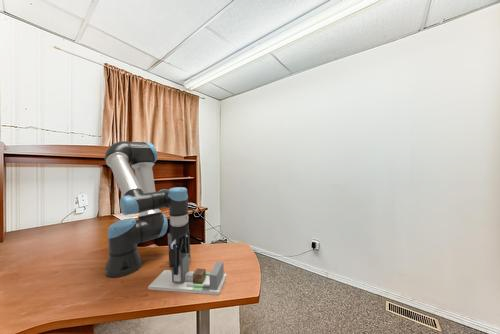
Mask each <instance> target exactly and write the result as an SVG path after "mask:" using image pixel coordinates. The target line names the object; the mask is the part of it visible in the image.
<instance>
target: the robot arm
mask: <svg viewBox="0 0 500 334" xmlns="http://www.w3.org/2000/svg"><path fill="white" fill-rule="evenodd" d="M157 160H158V152H157V148H156V147H155V145H154V144H153V143H152V142H145V141H126V140H125V141H122V140H121V141H117V142H115V143H113V144H111V145H110V146H109V147H108V148H107V149H106V151H105V154H104V161H105V163H106V165H107V166H108V167H109V168H110V169H111V172H112V174H113V176H114V178H115V180H116V183H117V186H118V187H119V191H120V192H121V194H122V196H121V197H120V199H119V208H120V212H121V214H123V215H125V216H126V215H127V216H128V215H135V214H138V216H137V218H138V219H137V220H136V218H133V217H129V218H125V219H120V220H118V221H115V222H113V223H112V224H110V225H109V226H108V228H107V242H108V258H107V262H106V266H105V268H104V269H105V275H106V277H109V278H120V277H125V276H127V275H130V274H132V273H135V272H136V271H138V270H139V269H140V268H141V267H142V264H143V261H142V257H141V256H140V253H139V251H138V245H140V243H145V242H148V241H151V240H154V239H158V238H160V237H164V235H165V234H166V233H167V232H168V231H167V230H168V227H169V233H170V234H171V235H172V236H173V243H172V244H169V249H170V264H169V268H170V269H172V268H173V269H174V281H178V282H180V281H181V268H180V265H179V262H180V252H181V253H188V254H189V253H190V255H188V256H191V246H190V247H189V232H188V231H190V229H189V228H190V227H189V225H190V224H189V218H190V217H189V194H188V189H187V188H186V187H181V186H180V187H176V186H175V187H172V188H171V187H170V188H169V189H168V188H167V189H159V191H156V186H155V185H156V184H155V178H154V172H153V167H154V166H155V163H156V162H157ZM133 170H134V171H133ZM163 208H167V209H168V210H169V214H168V215H169V225H168V217H167V216H166V214H164V213H162V210H161V209H163ZM187 250H188V251H187Z"/></svg>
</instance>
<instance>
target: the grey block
mask: <svg viewBox="0 0 500 334" xmlns="http://www.w3.org/2000/svg"><path fill="white" fill-rule="evenodd" d="M179 265H180V268H181V281H180V282H178V281H174V269H173V268H171V270H172V282H175V283H184V281H193V273H194V272H195V271H191V272H189V271H190V262H189V256H188V253H180V262H179Z"/></svg>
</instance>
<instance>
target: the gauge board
mask: <svg viewBox="0 0 500 334" xmlns="http://www.w3.org/2000/svg"><path fill="white" fill-rule="evenodd" d="M224 270H225V269H224V261H216V262H215V264H214V266H213V267H212V270H211V271H209V272H207V271H206V278H205V280H204V282H203V284H193V281H184V283H175V282H172V269H164V270H163V271H162V272H161V273H160V274H159V275H158V276H157V277H156V278H155V279H154V280H153V281H152V282H151V283H150V284H149V285H148V290H154V291H165V292H176V293H177V292H179V293H190V294H203V295H215V296H219V295H220V293H221V291H222V289H223V286H224V283H225V282H226V279H227V273H224V272H225V271H224ZM189 272H192V271H190V270H189Z"/></svg>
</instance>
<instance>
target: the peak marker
mask: <svg viewBox="0 0 500 334" xmlns="http://www.w3.org/2000/svg"><path fill="white" fill-rule="evenodd" d="M206 269H207V268H200V267H199V268H196V269H195V270H194V271H193V272H194V273H193V284H203V282H204V280H205V278H206V272H207V271H206Z"/></svg>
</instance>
